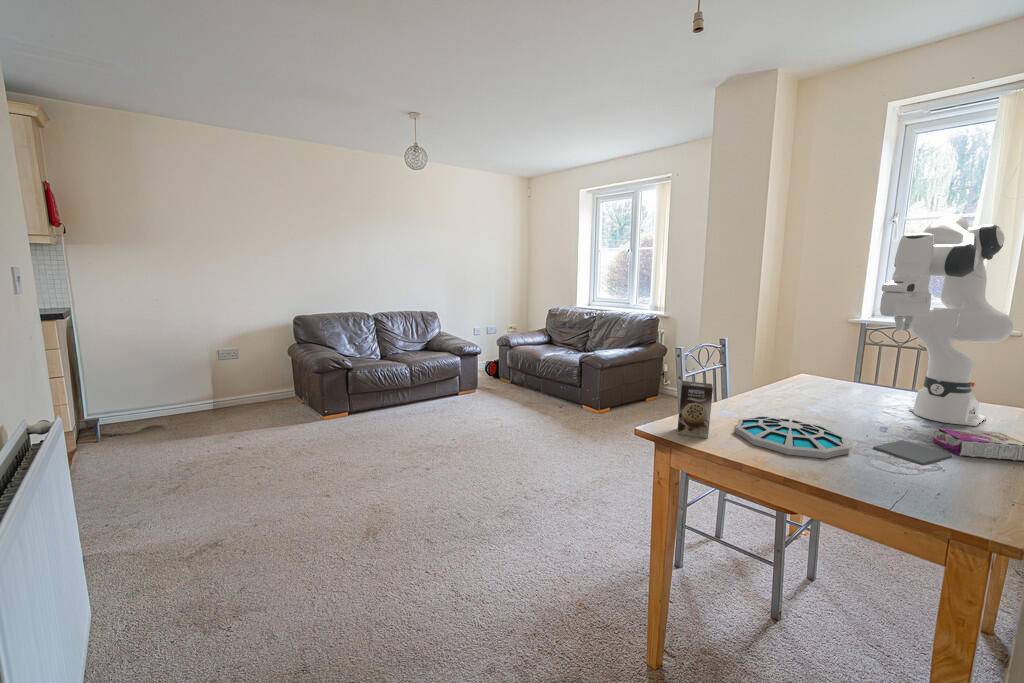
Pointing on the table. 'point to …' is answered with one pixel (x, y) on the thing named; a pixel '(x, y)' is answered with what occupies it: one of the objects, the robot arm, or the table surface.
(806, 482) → the table surface
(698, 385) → the brown food box
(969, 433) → the candy bar box
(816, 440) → the decorative platform
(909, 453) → the mat
